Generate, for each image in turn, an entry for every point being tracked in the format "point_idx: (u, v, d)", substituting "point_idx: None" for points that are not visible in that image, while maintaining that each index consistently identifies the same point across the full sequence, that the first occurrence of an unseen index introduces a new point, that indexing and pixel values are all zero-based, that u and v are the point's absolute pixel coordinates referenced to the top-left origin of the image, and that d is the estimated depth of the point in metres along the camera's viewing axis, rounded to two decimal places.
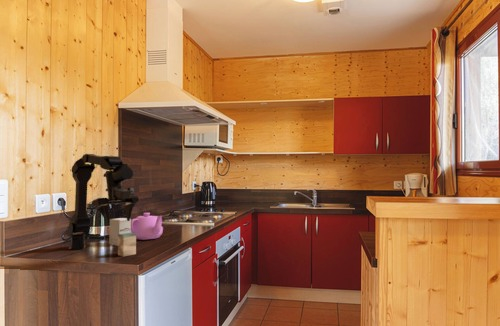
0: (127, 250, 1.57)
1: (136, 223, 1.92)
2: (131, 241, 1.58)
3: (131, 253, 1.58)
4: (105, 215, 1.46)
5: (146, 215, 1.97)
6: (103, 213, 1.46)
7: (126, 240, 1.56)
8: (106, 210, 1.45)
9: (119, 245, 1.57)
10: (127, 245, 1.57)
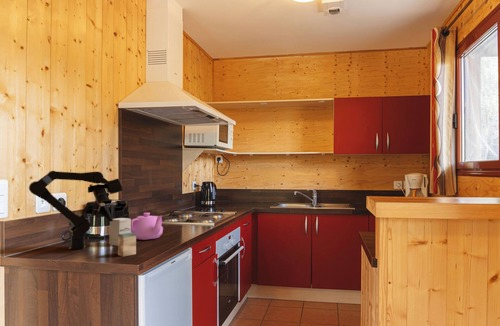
0: (127, 250, 1.57)
1: (136, 223, 1.92)
2: (131, 241, 1.58)
3: (131, 253, 1.58)
4: None
5: (146, 215, 1.97)
6: None
7: (126, 240, 1.56)
8: None
9: (119, 245, 1.57)
10: (127, 245, 1.57)
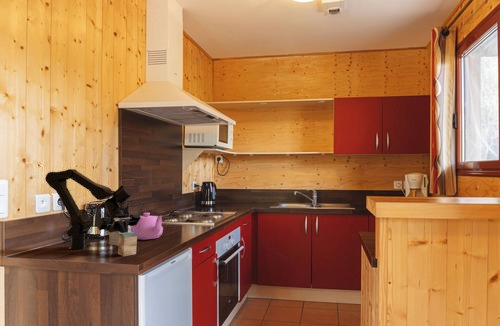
0: (127, 250, 1.56)
1: None
2: (132, 242, 1.58)
3: (131, 253, 1.58)
4: None
5: (146, 215, 1.97)
6: None
7: (127, 240, 1.56)
8: None
9: (120, 244, 1.57)
10: (128, 245, 1.56)
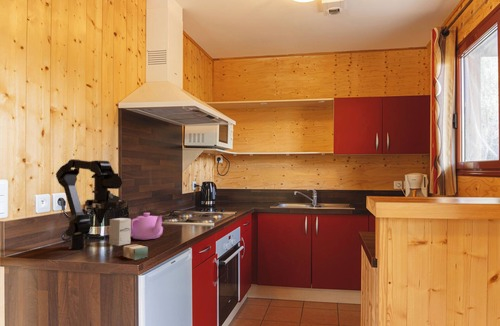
0: None
1: (136, 223, 1.92)
2: None
3: None
4: (102, 215, 1.63)
5: (146, 215, 1.97)
6: (100, 214, 1.62)
7: None
8: None
9: (128, 250, 1.52)
10: None
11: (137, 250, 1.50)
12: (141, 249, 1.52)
